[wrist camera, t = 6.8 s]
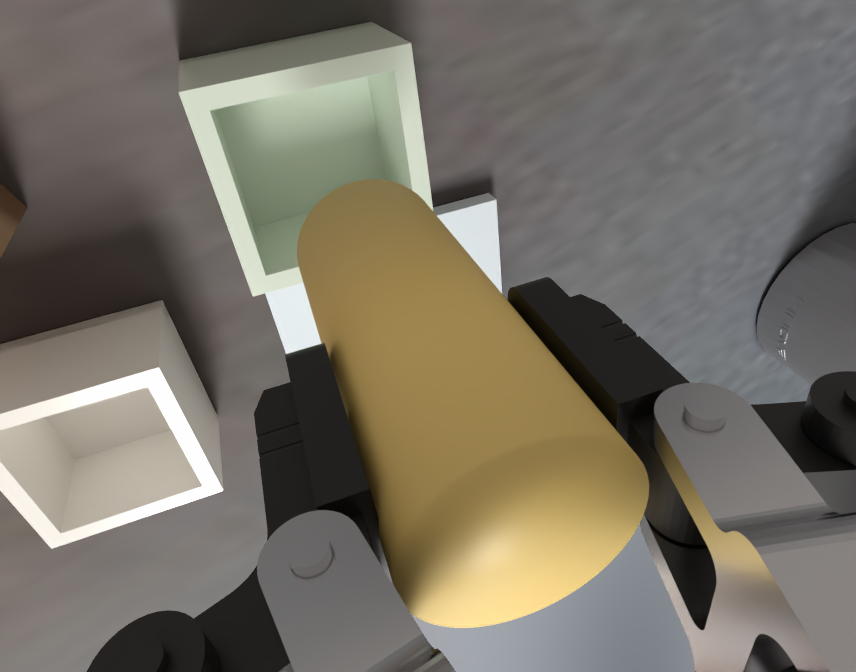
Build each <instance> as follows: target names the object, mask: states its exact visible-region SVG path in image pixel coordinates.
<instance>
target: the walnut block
mask: <svg viewBox="0 0 856 672" xmlns="http://www.w3.org/2000/svg"><path fill="white" fill-rule="evenodd" d="M26 209H27V207H26V206H25V205H24V204H23V203H22V202H21V201H19V200H18V199H17V198H16V197H15V196H14V195H13V194H12V193H11V192H10V191H8V190H7V189H6V188H5V187H4V186H3V185H2V184H1V183H0V258H1V256H2V254H3V252H4V251H5V249H6V247H7V245H8V243H9V241H10V239H11V237H12V236H13V234H14V232H15V230H16V228H17V226H18V224H19V222H20V221H21V219H22V217H23V215H24V213H25V211H26Z"/></svg>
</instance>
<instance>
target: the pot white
mask: <svg viewBox="0 0 856 672" xmlns="http://www.w3.org/2000/svg"><path fill="white" fill-rule="evenodd" d="M0 490H1V492H2V493H3V494H4V495H5V496H6V497H7V498H8V500H9V501H10V502H11V503H12V504H13V505H14V506H15V508H16V509H17V510H18V511H19V512H20V513H21V514H22V516H23V517H24V518H25V519H26V520H27V521H28V522H29V524H30V525H31V526H32V527H33V528H34V529H35V530H36V532H37V533H38V534H39V535H40V536H41V537H42V538H43V540H44V541H45V542H46V543H47V544H48V545H49V546H50V548H51V549H52V548H55V547H58V546H61V545H64V544H67V543H70V542H73V541H76V540H79V539H82V538H85V537H88V536H91V535H94V534H97V533H100V532H103V531H106V530H109V529H112V528H115V527H118V526H121V525H123V524H126V523H129V522H132V521H135V520H138V519H141V518H144V517H147V516H150V515H153V514H156V513H159V512H162V511H165V510H168V509H171V508H174V507H177V506H180V505H183V504H186V503H189V502H191V501H194V500H197V499H200V498H203V497H206V496H209V495H212V494H215V493H218V492H221V491H223V479H222V465H221V452H220V439H219V425H218V416H217V414H216V412H215V410H214V408H213V406H212V403H211V401H210V399H209V397H208V395H207V393H206V391H205V389H204V387H203V384H202V382H201V380H200V378H199V376H198V374H197V372H196V370H195V368H194V366H193V363H192V361H191V359H190V357H189V355H188V353H187V351H186V349H185V347H184V345H183V342H182V340H181V338H180V336H179V334H178V332H177V330H176V328H175V326H174V324H173V321H172V319H171V317H170V315H169V313H168V311H167V309H166V307H165V305H164V303H163V300H160V301H156V302H152V303H149V304H145V305H142V306H138V307H134V308H131V309H127V310H123V311H120V312H116V313H112V314H109V315H105V316H101V317H98V318H94V319H90V320H87V321H83V322H79V323H76V324H72V325H68V326H65V327H61V328H58V329H54V330H50V331H47V332H43V333H39V334H36V335H32V336H28V337H25V338H21V339H17V340H14V341H10V342H6V343H3V344H0Z"/></svg>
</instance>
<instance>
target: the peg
mask: <svg viewBox="0 0 856 672" xmlns="http://www.w3.org/2000/svg"><path fill="white" fill-rule="evenodd" d="M297 261H298V266H299V270H300V273H301V277H302V280H303V283H304V287H305V290H306V293H307V297H308V300H309V304H310V307H311V310H312V314H313V317H314V320H315V324H316V327H317V330H318V334H319V337H320V340H321V344H322V343H325V345H326V349H327V352H328V355H329V358H330V362H331V365H332V368H333V371H334V375H335V378H336V381H337V384H338V388H339V391H340V394H341V397H342V400H343V404H344V407H345V410H346V413H347V417H348V420H349V423H350V426H351V430H352V433H353V436H354V439H355V443H356V446H357V449H358V452H359V456H360V459H361V462H362V465H363V469H364V472H365V475H366V478H367V482H368V485H369V488H370V491H371V495H372V498H373V501H374V505H375V508H376V511H377V515H378V518H379V523H378V532H379V537H380V542H381V545H382V549H383V552H384V556H385V559H386V562H387V566H388V569H389V572H390V576H391V579H392V582H393V585H394V587H395V589H396V590H397V592H398V594H399V595H400V597H401V599H402V600H403V602H404V604H405V605H406V607H407V608H408V610H409V612H410V613H411V614H413V615H414V616H416V617H418V618H419V619H421V620H423V621H426V622H429V623H432V624H435V625H440V626H445V627H456V628H469V627H481V626H488V625H494V624H498V623H503V622H507V621H510V620H514V619H517V618H520V617H522V616H525V615H528V614H531V613H533V612H536V611H538V610H540V609H543V608H545V607H547V606H549V605H551V604H553V603H554V602H557V601H558V600H560V599H562V598H564V597H565V596H567V595H569V594H570V593H572V592H574V591H575V590H577V589H578V588H580V587H581V586H582V585H584V584H585V583H587V582H588V581H589V580H591V579H592V578H593V577H594V576H596V575H597V574H598V573H599V572H600V571H601V570H602V569H604V568H605V567H606V566H607V565H608V564H609V563H610V562H611V561H612V560H613V559H614V558H615V557H616V556H617V555H618V553H619V552H620V551H621V550H622V549H623V548H624V546H625V545H626V544H627V542H628V541H629V540H630V538H631V537H632V535H633V534H634V532H635V531H636V529H637V527H638V525H639V523H640V521H641V519H642V517H643V514H644V512H645V509H646V506H647V501H648V497H649V480H648V474H647V472H646V469H645V467H644V464H643V463H642V461H641V460H640V459H639V457H638V456H637V455H636V453H635V452H634V451H633V450H632V449H631V447H630V446H629V445H628V444H627V443H626V441H625V440H624V439H623V438H622V437H621V435H620V434H619V433H618V432H617V431H616V429H615V428H614V427H613V426H612V425H611V423H610V422H609V421H608V420H607V419H606V418H605V416H604V415H603V414H602V413H601V412H600V410H599V409H598V408H597V407H596V406H595V404H594V403H593V402H592V401H591V400H590V398H589V397H588V396H587V395H586V394H585V392H584V391H583V390H582V389H581V388H580V386H579V385H578V384H577V383H576V382H575V380H574V379H573V378H572V377H571V376H570V374H569V373H568V372H567V371H566V370H565V368H564V367H563V366H562V365H561V364H560V363H559V361H558V360H557V359H556V358H555V357H554V355H553V354H552V353H551V352H550V351H549V349H548V348H547V347H546V346H545V345H544V343H543V342H542V341H541V340H540V339H539V337H538V336H537V335H536V334H535V333H534V331H533V330H532V329H531V328H530V327H529V325H528V324H527V323H526V322H525V321H524V319H523V318H522V317H521V316H520V315H519V313H518V312H517V311H516V310H515V309H514V308H513V306H512V305H511V304H510V303H509V302H508V300H507V299H506V298H505V297H504V296H503V294H502V293H501V292H500V291H499V290H498V288H497V287H496V286H495V285H494V284H493V282H492V281H491V280H490V279H489V278H488V276H487V275H486V274H485V273H484V272H483V270H482V269H481V268H480V267H479V266H478V264H477V263H476V262H475V261H474V260H473V258H472V257H471V256H470V255H469V254H468V253H467V251H466V250H465V249H464V248H463V247H462V245H461V244H460V243H459V242H458V241H457V239H456V238H455V237H454V236H453V235H452V233H451V232H450V231H449V230H448V229H447V227H446V226H445V225H444V224H443V223H442V221H441V220H440V219H439V218H438V217H437V215H436V214H435V213H434V212H433V211H432V209H431V208H430V207H429V206H428V205H427V203H426V202H425V201H424V200H423V199H422V198H421V197H420V196H419V195H418V194H416V193H415V192H414V191H412V190H411V189H409V188H407V187H405V186H404V185H401V184H399V183H396V182H392V181H388V180H381V179H366V180H360V181H355V182H352V183H349V184H345V185H343V186H341V187H339V188H337V189H335V190H334V191H332V192H330V193H329V194H327V195H326V196H325V197H324V198H322V199H321V200H320V201H319V202H318V203H317V204H316V205H315V206H314V207H313V209H312V210H311V211H310V213H309V214H308V216H307V217H306V219H305V221H304V223H303V225H302V228H301V230H300V233H299V237H298V242H297Z"/></svg>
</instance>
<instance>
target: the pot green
mask: <svg viewBox="0 0 856 672" xmlns="http://www.w3.org/2000/svg"><path fill="white" fill-rule="evenodd" d="M179 95H180V98H181V100H182V103H183V106H184V109H185V111H186V114H187V117H188V120H189V122H190V125H191V128H192V131H193V133H194V136H195V139H196V142H197V144H198V147H199V150H200V153H201V155H202V158H203V161H204V164H205V166H206V169H207V172H208V174H209V177H210V180H211V183H212V185H213V188H214V191H215V194H216V196H217V199H218V202H219V205H220V207H221V210H222V213H223V216H224V218H225V221H226V224H227V227H228V229H229V232H230V235H231V238H232V240H233V243H234V246H235V249H236V251H237V254H238V257H239V260H240V262H241V265H242V268H243V271H244V273H245V276H246V279H247V282H248V284H249V287H250V290H251V293H252V295H253V296H257V295H260V294H264V293H267V292H271V291H274V290H278V289H282V288H285V287H289V286H292V285H296V284H299V283H303V280H302V277H301V273H300V270H299V266H298V261H297V242H298V237H299V233H300V230H301V228H302V225H303V223H304V221H305V219H306V217H307V216H308V214H309V213H310V211H311V210H312V209H313V207H314V206H315V205H316V204H317V203H318V202H319V201H320V200H321V199H322V198H324V197H325V196H326V195H327V194H329V193H330V192H332V191H334V190H335V189H337V188H339V187H341V186H343V185H345V184H349V183H352V182H355V181H360V180H366V179H381V180H388V181H392V182H396V183H399V184H401V185H404V186H405V187H407V188H409V189H411V190H412V191H414V192H415V193H416V194H418V195H419V196H420V197H421V198H422V199H423V200H424V201H425V202H426V203H427V205H428V206H429V207H430V208H431V209H432V211H433V205H432V197H431V190H430V182H429V175H428V167H427V160H426V152H425V144H424V137H423V129H422V122H421V114H420V106H419V99H418V91H417V84H416V76H415V68H414V61H413V53H412V46H411V43H410V42H408V41H407V40H405V39H403V38H401V37H399V36H397V35H395V34H393V33H392V32H390V31H388V30H386V29H384V28H382V27H380V26H378V25H377V24H375V23H373V22H367V23H362V24H358V25H353V26H348V27H343V28H338V29H333V30H328V31H323V32H318V33H313V34H308V35H303V36H298V37H293V38H288V39H283V40H278V41H273V42H268V43H264V44H259V45H254V46H249V47H244V48H239V49H234V50H229V51H224V52H219V53H214V54H209V55H204V56H199V57H194V58H189V59H184V60H179Z"/></svg>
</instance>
